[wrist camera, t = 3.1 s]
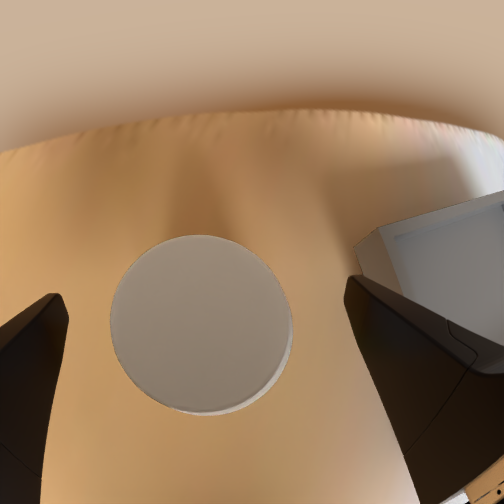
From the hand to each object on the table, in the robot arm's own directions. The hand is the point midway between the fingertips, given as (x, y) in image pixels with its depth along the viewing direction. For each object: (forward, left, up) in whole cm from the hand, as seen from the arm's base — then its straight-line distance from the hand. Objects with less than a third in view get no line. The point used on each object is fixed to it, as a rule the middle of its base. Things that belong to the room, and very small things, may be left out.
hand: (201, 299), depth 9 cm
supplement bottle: (-1, 0, -7) cm, 7 cm away
